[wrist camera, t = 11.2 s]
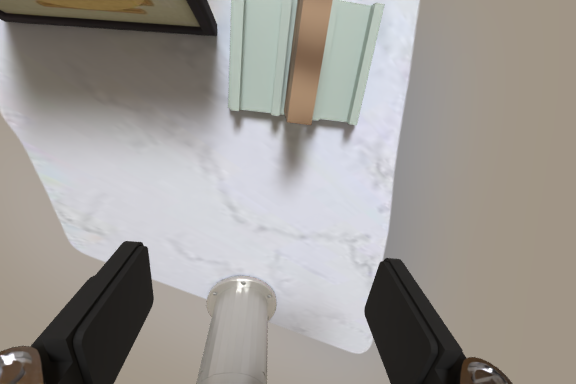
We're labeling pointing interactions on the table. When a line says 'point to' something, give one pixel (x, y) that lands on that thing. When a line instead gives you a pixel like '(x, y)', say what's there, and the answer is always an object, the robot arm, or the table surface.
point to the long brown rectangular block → (306, 59)
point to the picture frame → (116, 14)
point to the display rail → (277, 51)
